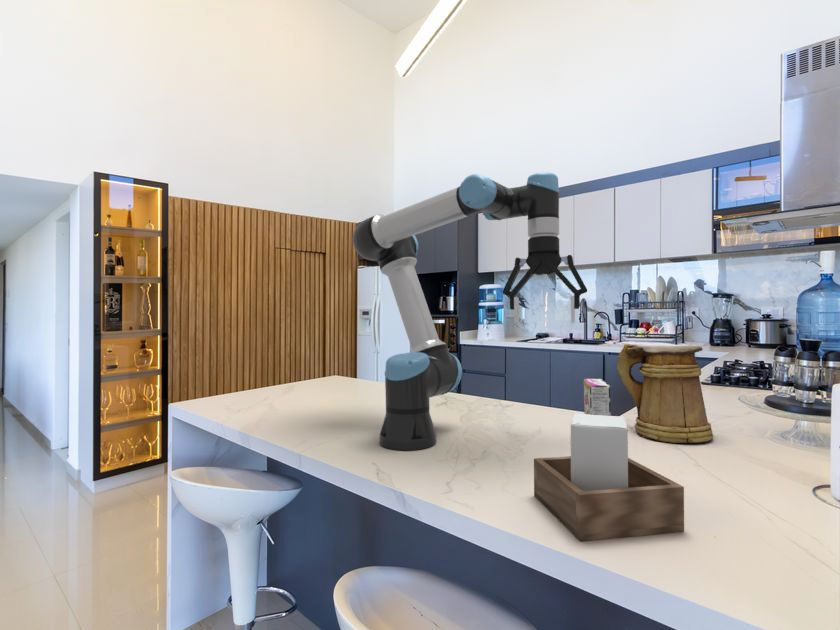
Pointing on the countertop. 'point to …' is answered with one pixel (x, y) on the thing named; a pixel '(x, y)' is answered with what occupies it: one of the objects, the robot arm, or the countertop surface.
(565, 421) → the countertop surface
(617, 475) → the supplement box
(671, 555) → the countertop surface
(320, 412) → the countertop surface
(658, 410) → the tankard
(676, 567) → the countertop surface
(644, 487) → the crate
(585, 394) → the candy bar box
